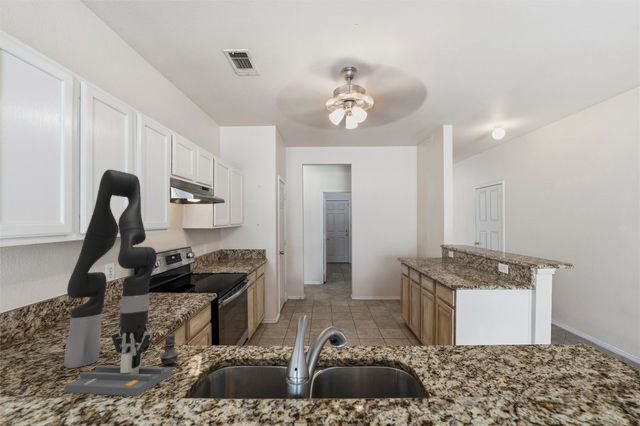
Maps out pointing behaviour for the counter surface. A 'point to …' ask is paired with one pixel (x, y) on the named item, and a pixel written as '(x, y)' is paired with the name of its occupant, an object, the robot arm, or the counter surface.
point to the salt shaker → (169, 351)
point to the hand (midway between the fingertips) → (131, 366)
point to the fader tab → (128, 363)
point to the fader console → (118, 381)
